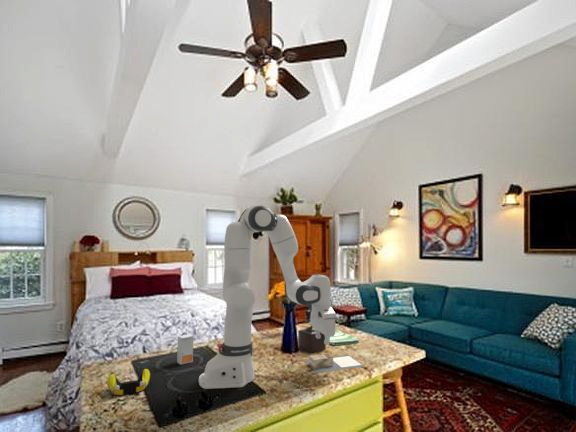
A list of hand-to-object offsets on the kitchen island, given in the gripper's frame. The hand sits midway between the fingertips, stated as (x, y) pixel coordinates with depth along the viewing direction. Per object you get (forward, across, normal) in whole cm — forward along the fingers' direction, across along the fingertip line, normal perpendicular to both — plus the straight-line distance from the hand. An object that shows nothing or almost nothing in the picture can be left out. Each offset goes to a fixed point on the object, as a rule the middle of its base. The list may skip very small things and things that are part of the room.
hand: (322, 341), depth 158 cm
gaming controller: (+9, 0, -80) cm, 80 cm away
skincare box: (+10, -23, -59) cm, 64 cm away
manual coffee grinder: (+11, -25, +3) cm, 27 cm away
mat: (+11, 0, +5) cm, 12 cm away
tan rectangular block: (+10, 0, -1) cm, 10 cm away
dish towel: (+12, -36, +23) cm, 44 cm away
